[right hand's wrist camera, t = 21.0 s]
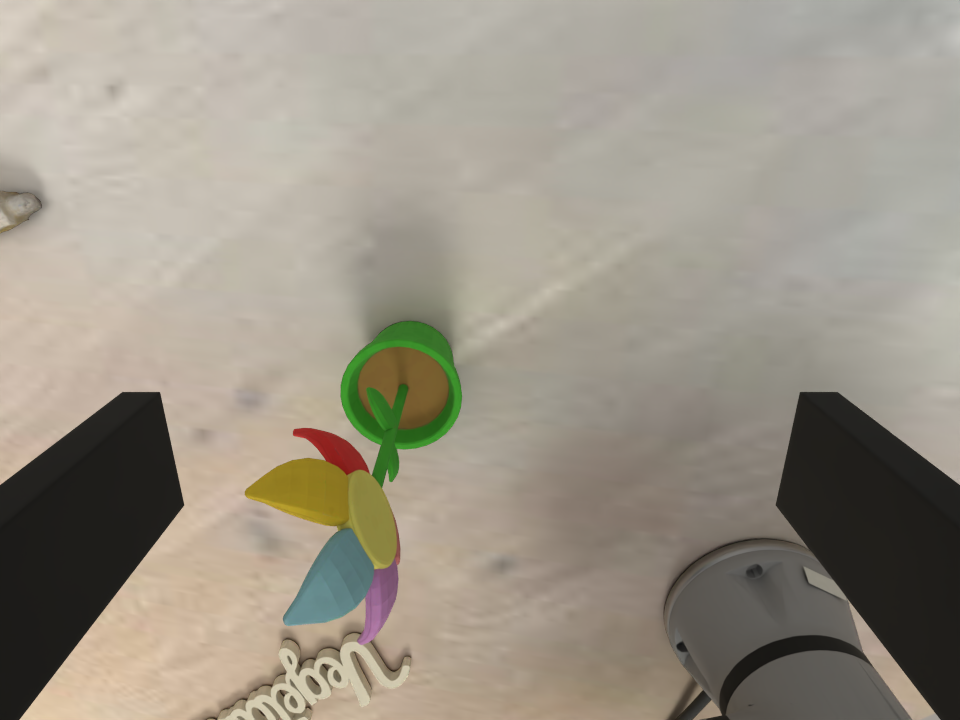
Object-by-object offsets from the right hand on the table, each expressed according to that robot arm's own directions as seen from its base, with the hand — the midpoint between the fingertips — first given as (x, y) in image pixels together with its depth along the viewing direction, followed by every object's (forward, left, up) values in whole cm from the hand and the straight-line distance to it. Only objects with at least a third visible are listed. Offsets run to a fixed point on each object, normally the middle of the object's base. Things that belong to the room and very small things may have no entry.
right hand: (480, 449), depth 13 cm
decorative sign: (-48, -6, -31) cm, 58 cm away
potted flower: (-12, -1, -31) cm, 33 cm away
